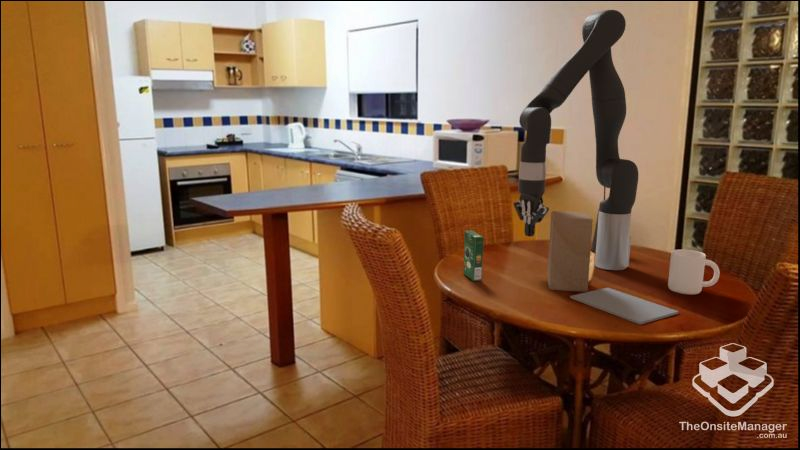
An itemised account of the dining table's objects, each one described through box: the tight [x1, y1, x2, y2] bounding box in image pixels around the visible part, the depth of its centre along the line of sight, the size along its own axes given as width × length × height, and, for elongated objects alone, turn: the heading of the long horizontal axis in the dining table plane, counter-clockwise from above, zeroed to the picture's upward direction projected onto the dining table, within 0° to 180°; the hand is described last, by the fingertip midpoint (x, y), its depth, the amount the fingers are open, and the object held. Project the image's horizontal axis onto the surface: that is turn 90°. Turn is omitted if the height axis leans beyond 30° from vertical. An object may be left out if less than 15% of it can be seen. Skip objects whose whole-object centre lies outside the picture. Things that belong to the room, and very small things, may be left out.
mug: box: [667, 249, 721, 295], centre depth 153 cm, size 12×8×10 cm
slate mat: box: [569, 287, 680, 325], centre depth 143 cm, size 14×21×1 cm, turn 30°
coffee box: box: [462, 230, 485, 282], centre depth 164 cm, size 8×3×13 cm, turn 16°
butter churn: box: [591, 186, 607, 253], centre depth 192 cm, size 9×10×28 cm
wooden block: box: [547, 210, 594, 293], centre depth 156 cm, size 10×10×20 cm
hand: (529, 235), depth 170 cm, fingers closed
